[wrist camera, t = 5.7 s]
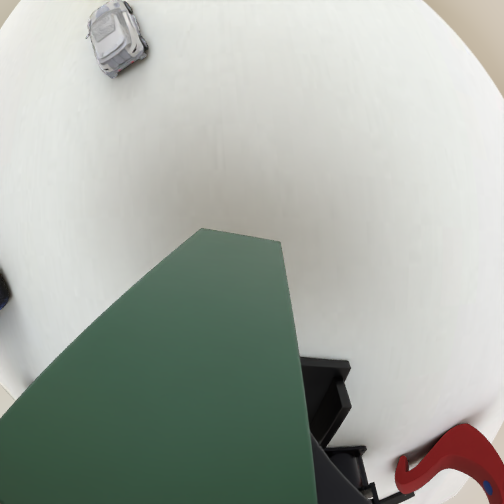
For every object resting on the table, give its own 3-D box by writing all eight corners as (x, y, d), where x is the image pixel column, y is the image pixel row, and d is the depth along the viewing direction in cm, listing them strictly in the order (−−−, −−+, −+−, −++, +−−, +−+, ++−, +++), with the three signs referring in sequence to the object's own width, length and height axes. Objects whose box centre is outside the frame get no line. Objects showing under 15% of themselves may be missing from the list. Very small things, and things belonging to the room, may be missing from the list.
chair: (474, 411, 23) (523, 501, 4) (469, 430, 25) (509, 510, 6) (388, 460, 26) (415, 566, 7) (393, 473, 28) (416, 563, 9)
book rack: (348, 360, 20) (362, 398, 16) (308, 439, 24) (311, 471, 19) (202, 342, 20) (189, 380, 16) (197, 426, 24) (189, 459, 19)
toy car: (128, -2, 12) (112, -18, 9) (154, 57, 14) (137, 41, 11) (91, 23, 13) (73, 10, 10) (112, 84, 15) (90, 74, 12)
